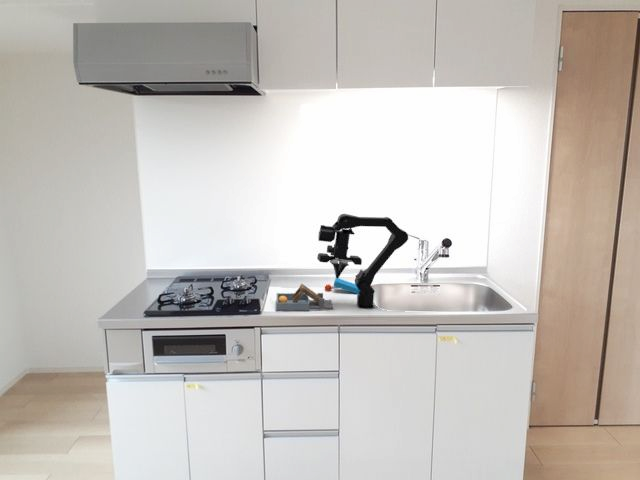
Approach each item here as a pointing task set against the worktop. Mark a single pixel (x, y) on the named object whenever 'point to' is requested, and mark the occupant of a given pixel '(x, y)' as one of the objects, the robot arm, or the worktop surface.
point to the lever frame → (321, 304)
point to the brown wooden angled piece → (307, 291)
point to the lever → (343, 286)
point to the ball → (282, 299)
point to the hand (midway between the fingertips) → (337, 278)
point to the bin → (292, 303)
